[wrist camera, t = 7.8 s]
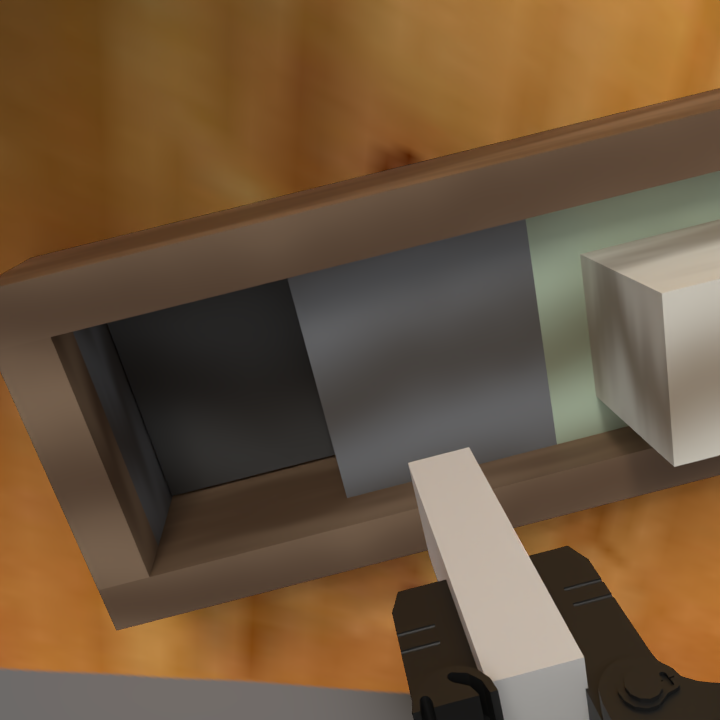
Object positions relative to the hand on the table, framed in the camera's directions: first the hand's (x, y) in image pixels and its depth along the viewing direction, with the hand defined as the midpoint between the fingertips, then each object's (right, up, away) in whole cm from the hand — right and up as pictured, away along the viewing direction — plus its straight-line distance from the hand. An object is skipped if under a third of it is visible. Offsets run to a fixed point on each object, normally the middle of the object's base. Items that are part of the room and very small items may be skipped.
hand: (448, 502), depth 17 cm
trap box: (+5, +6, +14) cm, 16 cm away
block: (+10, +5, +10) cm, 15 cm away
